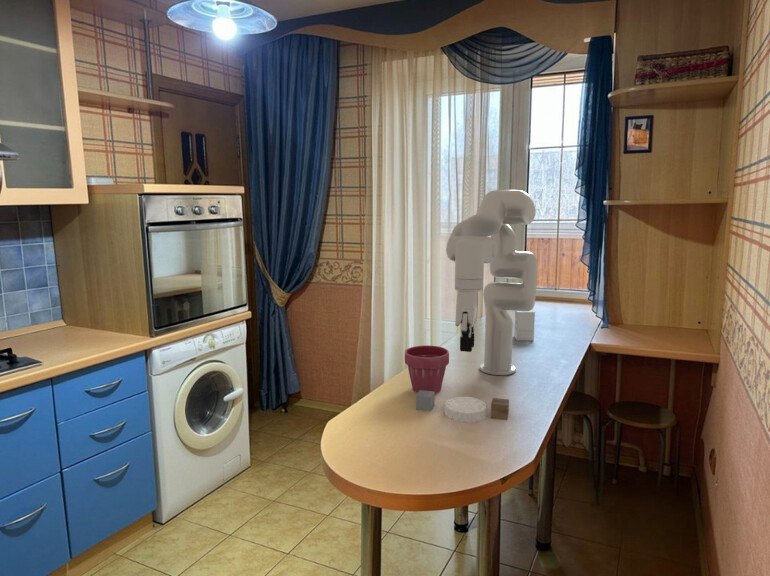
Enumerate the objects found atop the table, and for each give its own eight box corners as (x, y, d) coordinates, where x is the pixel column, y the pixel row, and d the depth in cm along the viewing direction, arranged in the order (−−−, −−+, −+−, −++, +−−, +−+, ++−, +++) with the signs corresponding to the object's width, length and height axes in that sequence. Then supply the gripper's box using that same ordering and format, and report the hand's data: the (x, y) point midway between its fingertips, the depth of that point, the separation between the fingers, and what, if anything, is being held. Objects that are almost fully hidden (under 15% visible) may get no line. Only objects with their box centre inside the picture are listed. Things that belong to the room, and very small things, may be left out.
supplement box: (531, 336, 239) (532, 308, 237) (533, 341, 232) (535, 312, 229) (513, 336, 240) (515, 308, 237) (516, 340, 232) (517, 311, 230)
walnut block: (492, 412, 157) (492, 397, 156) (508, 414, 155) (509, 399, 154) (490, 418, 152) (491, 403, 152) (507, 420, 151) (507, 405, 150)
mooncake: (458, 403, 164) (458, 391, 163) (494, 413, 156) (494, 401, 156) (436, 415, 155) (436, 403, 154) (473, 427, 147) (473, 414, 147)
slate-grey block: (419, 404, 163) (419, 390, 162) (434, 406, 161) (434, 391, 161) (415, 410, 158) (416, 395, 158) (431, 411, 157) (431, 396, 156)
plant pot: (397, 384, 179) (397, 347, 177) (436, 379, 184) (436, 343, 182) (415, 400, 166) (415, 359, 164) (456, 394, 171) (457, 354, 169)
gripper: (459, 279, 158) (458, 340, 161) (449, 288, 142) (448, 356, 146) (486, 280, 156) (484, 342, 159) (478, 290, 140) (476, 358, 143)
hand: (467, 348), depth 152 cm, fingers open, 3 cm apart
